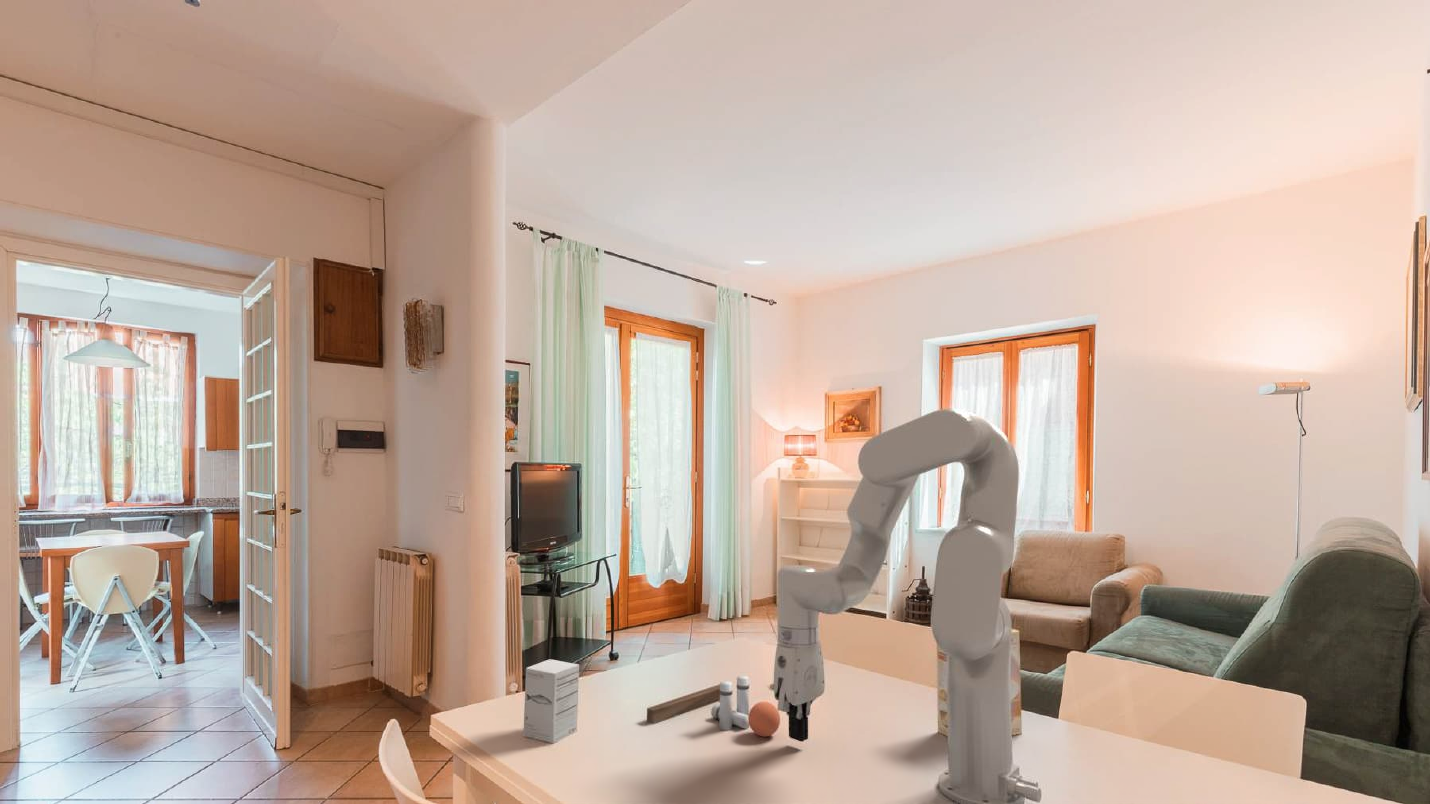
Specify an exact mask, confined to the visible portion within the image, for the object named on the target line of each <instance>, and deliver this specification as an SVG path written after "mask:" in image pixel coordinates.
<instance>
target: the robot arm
mask: <svg viewBox="0 0 1430 804" xmlns="http://www.w3.org/2000/svg"><path fill="white" fill-rule="evenodd" d="M857 458H858V459H857V460H858V461H857V465H858V469H859V471H860V474H861V475H862V478H861V479H860V482H859V484H858V486H857V489H856V490H855V492H854V493H853V497H852V499H851V501H850V503H849V505H848V507H847V511H846V515H847V518H848V521H849V524H850V537H849V541H848V544H847V546H846V548H845V551H844V553H843V555H842V557H841V559H840V561H839V563H838V566H836V567H832V568H830V569H826V570H822V571H817V569H815V568H814V567H811V566H809V565H808V566H807V565H801V564H799V565H797V564H794V565H792V564H791V565H784V566H782V567H781V568H779V570H778V571H777V579H776V580H777V581H776V583H777V585H776V586H777V589H776V590H777V591H776V592H777V593H776V594H777V596H776V598H777V599H776V601H777V607H776V608H777V616H776V617H777V644H776V650H775V656H774V665H773V666H774V668H773V695H774V698H775V700H776V701H777V702H778V703H777V710H778V711H780V712H785V713H786V716H788V737H789V738H790V739H792V740H795V741H799V742H805V741H807V740H808V739H809V716H810V714H811V705H812V703H813V702H815V700H817V699H818V698H820V697H821V696H822V695H823V694H824V692H825V687H826V684H825V666H824V656H823V649H822V645H821V641H820V640H819V637H820V636H819V613H820V614H825V615H838V614H841V613H843V612H845V611H847V610H849V609H851V608H853V607H855V606H858V605H859V604H861V603H863V601H864V600H865V599H866V598H867V597H868V595H869V594H870V592H871V590H872V588H873V586H874V583H876V581H877V580H876V579H877V578H878V576H879V574H880V571H881V570H882V568H883V566H884V563H885V561H886V557H887V554H888V550H889V546H890V543H891V539H892V538H891V537H892V533H893V531H894V528H895V526H896V524H897V522H898V520H899V518H900V515H901V514H902V512H903V510H904V507H905V505H906V503H907V501H908V499H909V498H910V495H911V493H912V492H913V489H914V487H915V485H916V483H917V481H918V479H919V477H920V475H922V474H924V473H928V472H930V471H932V470H936V469H938V468H941V467H945V466H947V465H950V464H953V463H960V464H961V466H962V467H963V472H964V473H963V475H964V476H963V481H962V487H961V491H960V502H959V504H960V505H959V513H958V520H957V524H956V526H954V527H953V528H951V529H950V530H949V531H947V533H946V534H945V535H944V537H943V538H942V539H941V542H940V545H939V547H938V552H937V556H936V564H935V571H934V572H935V573H934V582H933V592H932V602H931V610H930V611H931V612H930V628H931V632H932V636H933V638H934V641H935V643H936V645H937V644H938V645H939V647H940V648H941V649H942V650H943V651H944V652H945V653H946V654H947V724H948V737H947V761H948V763H947V764H948V765H947V766H948V769H947V770H945V771H943V772H941V774H939V776H938V788H939V790H940V791H941V792H942V794H943V795H944V796H945V797H947V798H949V799H950V800H952V801H954V802H956V803H959V804H1024V802H1025V799H1026V800H1028V801H1032V802H1034V803H1035V802H1036V803H1037V804H1038V803H1041V799H1042V790H1041V788H1039V784H1038V782H1037V781H1034V780H1031V779H1027V778H1023V776H1022V775H1020V765H1016V764H1013V761H1014V760H1013V736H1012V725H1011V678H1010V657H1011V633H1012V629H1013V628H1012V616H1011V613H1010V609H1009V607H1008V605H1007V604H1006V602H1005V600H1004V598H1002V597H1001V595H1002V588H1003V587H1002V585H1003V578H1004V575H1005V574H1006V573H1007V572H1008V571H1009V569H1010V567H1011V566H1012V563H1013V561H1014V551H1015V550H1014V548H1015V534H1016V532H1015V531H1016V521H1017V509H1018V491H1019V479H1020V477H1019V476H1020V474H1019V473H1020V472H1019V461H1018V457H1017V453H1016V450H1015V448H1014V446H1013V445H1012V443H1011V441H1010V439H1009V438H1008V436H1007V434H1005V433H1004V432H1003V431H1002V430H1001V429H1000V427H998V426H996V425H995V424H993V423H992V422H991V421H989V420H987V419H986V418H984V417H982V416H980V415H978V414H975V413H973V412H969V411H966V410H963V409H962V410H961V409H958V408H941V409H938V410H933V411H932V412H929V413H927V414H923V415H922V416H920V417H917V418H915V419H912V420H910V421H907V422H904V423H903V424H900V425H898V426H896V427H893V428H891V429H888V430H886V431H883V432H881V433H878V434H876V435H874V436H872V437H871V438H870V439H868V440H867V441H866V442H865V443H864V444H863V446H862V447H861V449H860V450H859V453H858V457H857Z"/></svg>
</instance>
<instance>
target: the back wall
mask: <svg viewBox="0 0 1430 804" xmlns="http://www.w3.org/2000/svg"><path fill="white" fill-rule="evenodd" d="M719 700H720V683H719V684H717V685H713V686H711V687H707V688H705V689H701V690H699V691H698V690H697V691H695V692H691V693H689V694H687V695H684V696H680V697H677V698H673V699H670V700H667V701H665V702H662V703H659V704H656V705H653V706H650V707H649V706H648V707H647V708H646V722H648V723H650V724H652V725H655V724H658V723H660V722H663V721H666V720H668V719H671V718H674V716H675V717H676V715H677V716H680V715H682V714H683V715H684V714H685V712H686V713H689V712H691V711H695V710H696V709H699V708H704V707H705V706H709V705H711V704H713V703H716V701H717V702H720V701H719ZM665 719H666V720H665ZM654 723H655V724H654Z"/></svg>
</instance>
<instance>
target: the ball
mask: <svg viewBox="0 0 1430 804" xmlns="http://www.w3.org/2000/svg"><path fill="white" fill-rule="evenodd" d="M780 725H781V715H780V712H779V710H778V707H776V706H775V705H774V704H773V703H771V702H768V701H759V702H758V703H756V704H754V705H753V706H751V709H750V710H749V727H750V729H751V731H752V732H753V733H755V735H758V736H760V737H769V736H772V735H774V734H775V733H776V732H777V731H778V729H779V728H780Z"/></svg>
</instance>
